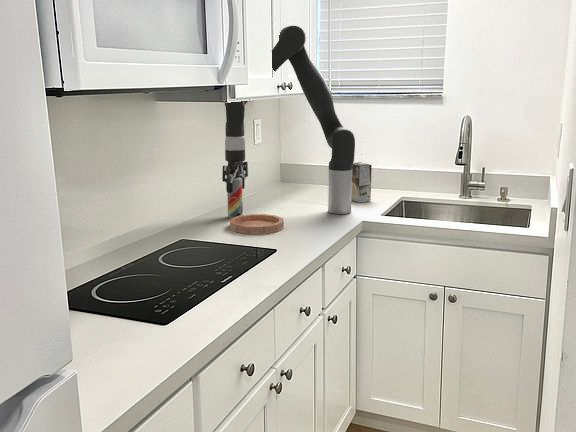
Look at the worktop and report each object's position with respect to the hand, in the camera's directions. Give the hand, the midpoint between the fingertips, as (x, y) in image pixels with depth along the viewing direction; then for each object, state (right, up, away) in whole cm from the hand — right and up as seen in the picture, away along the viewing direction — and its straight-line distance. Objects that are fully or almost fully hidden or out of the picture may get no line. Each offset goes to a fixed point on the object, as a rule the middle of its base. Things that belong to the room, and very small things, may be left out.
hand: (235, 190), depth 219 cm
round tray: (+9, -14, -13) cm, 21 cm away
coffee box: (+51, -3, +32) cm, 61 cm away
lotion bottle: (0, -10, +2) cm, 11 cm away
